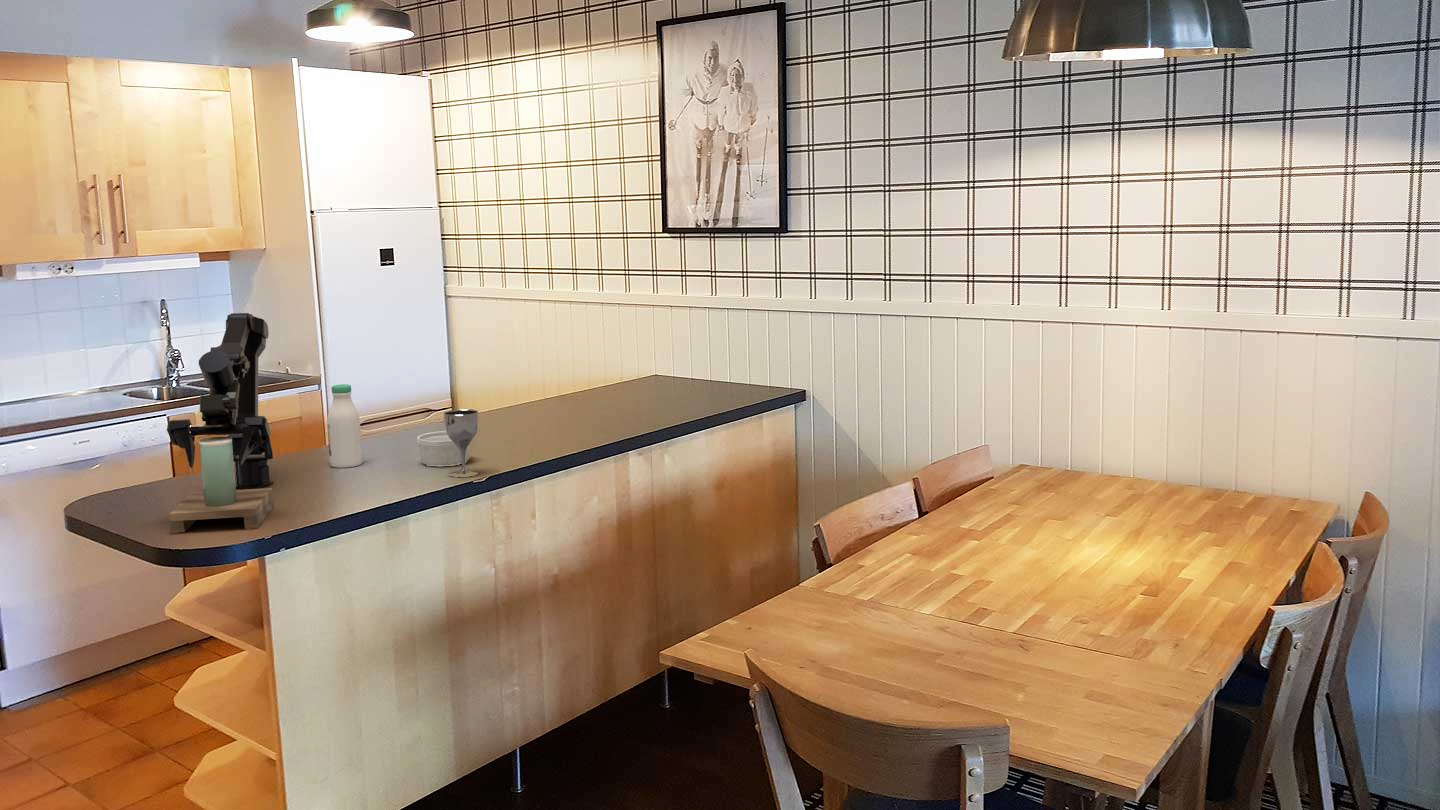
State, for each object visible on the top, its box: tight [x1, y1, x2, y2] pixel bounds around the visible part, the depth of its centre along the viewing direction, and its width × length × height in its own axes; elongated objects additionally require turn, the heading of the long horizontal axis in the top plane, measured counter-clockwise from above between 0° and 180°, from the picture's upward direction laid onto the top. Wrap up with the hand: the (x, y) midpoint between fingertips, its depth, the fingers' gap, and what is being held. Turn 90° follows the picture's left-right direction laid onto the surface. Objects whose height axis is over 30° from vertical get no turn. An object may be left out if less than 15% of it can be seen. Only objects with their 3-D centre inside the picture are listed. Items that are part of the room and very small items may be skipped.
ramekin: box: [416, 430, 472, 465], centre depth 289 cm, size 13×13×7 cm
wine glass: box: [443, 408, 479, 474], centre depth 275 cm, size 8×8×15 cm
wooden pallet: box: [169, 487, 274, 534], centre depth 237 cm, size 18×16×4 cm
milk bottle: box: [326, 384, 363, 469], centre depth 287 cm, size 8×8×20 cm
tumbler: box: [198, 436, 237, 507], centre depth 233 cm, size 6×6×13 cm
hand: (215, 465), depth 232 cm, fingers open, 9 cm apart
